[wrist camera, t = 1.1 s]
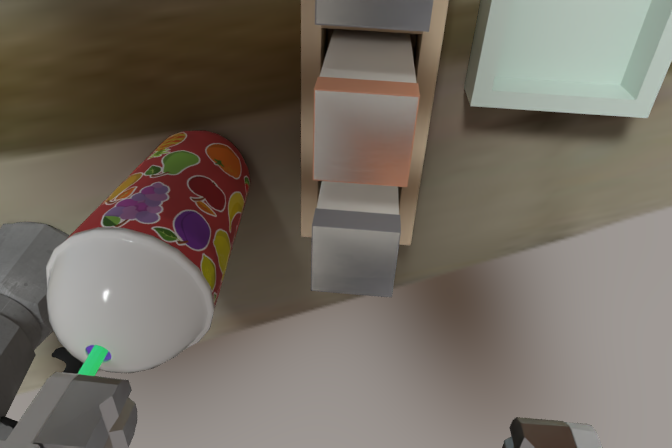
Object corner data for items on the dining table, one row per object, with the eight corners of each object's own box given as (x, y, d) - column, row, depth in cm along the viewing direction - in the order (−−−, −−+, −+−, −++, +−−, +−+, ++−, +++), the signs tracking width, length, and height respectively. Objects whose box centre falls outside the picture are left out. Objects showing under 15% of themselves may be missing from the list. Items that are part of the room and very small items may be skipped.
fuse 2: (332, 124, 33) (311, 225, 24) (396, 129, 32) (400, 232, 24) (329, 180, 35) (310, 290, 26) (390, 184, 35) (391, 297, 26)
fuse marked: (336, 17, 29) (313, 88, 20) (409, 22, 29) (420, 96, 20) (333, 88, 31) (312, 180, 22) (401, 92, 31) (407, 187, 22)
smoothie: (164, 213, 40) (10, 459, 23) (136, 111, 35) (-82, 331, 19) (271, 214, 39) (189, 469, 23) (257, 110, 34) (140, 339, 18)
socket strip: (316, -172, 25) (301, -179, 21) (459, -166, 25) (475, -171, 20) (311, 191, 37) (301, 236, 33) (407, 198, 37) (410, 245, 33)
